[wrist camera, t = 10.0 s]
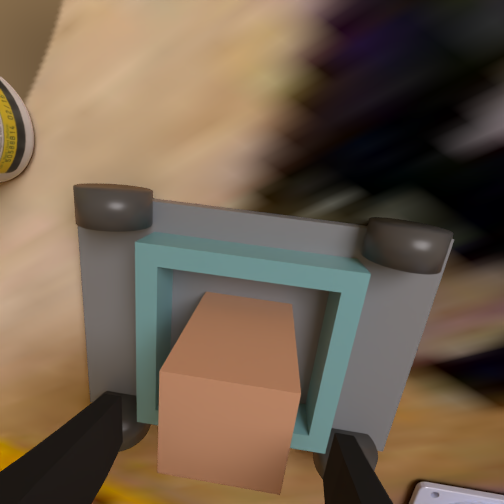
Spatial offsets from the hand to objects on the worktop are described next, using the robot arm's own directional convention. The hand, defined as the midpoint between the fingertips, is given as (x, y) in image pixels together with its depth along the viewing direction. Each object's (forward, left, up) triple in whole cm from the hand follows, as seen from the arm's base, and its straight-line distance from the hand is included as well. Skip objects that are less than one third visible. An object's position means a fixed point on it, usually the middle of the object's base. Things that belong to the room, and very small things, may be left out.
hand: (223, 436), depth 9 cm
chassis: (0, 0, -7) cm, 7 cm away
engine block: (0, 0, -6) cm, 6 cm away
